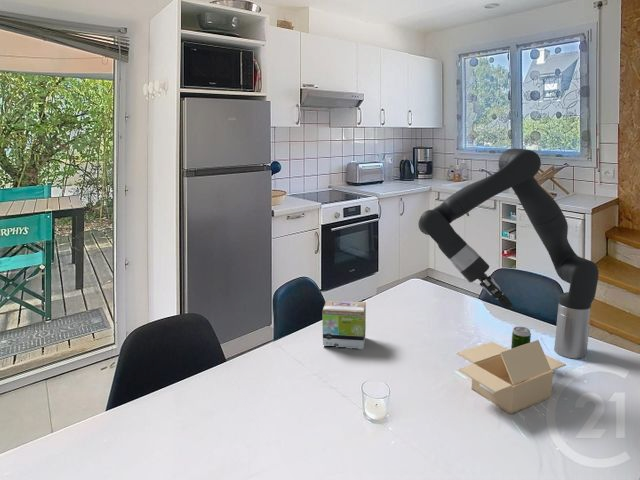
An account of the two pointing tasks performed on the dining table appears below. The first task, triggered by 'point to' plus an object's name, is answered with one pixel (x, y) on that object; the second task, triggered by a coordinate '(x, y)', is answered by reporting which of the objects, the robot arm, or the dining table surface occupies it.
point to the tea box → (344, 324)
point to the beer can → (520, 336)
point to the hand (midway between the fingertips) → (508, 304)
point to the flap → (525, 361)
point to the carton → (505, 379)
